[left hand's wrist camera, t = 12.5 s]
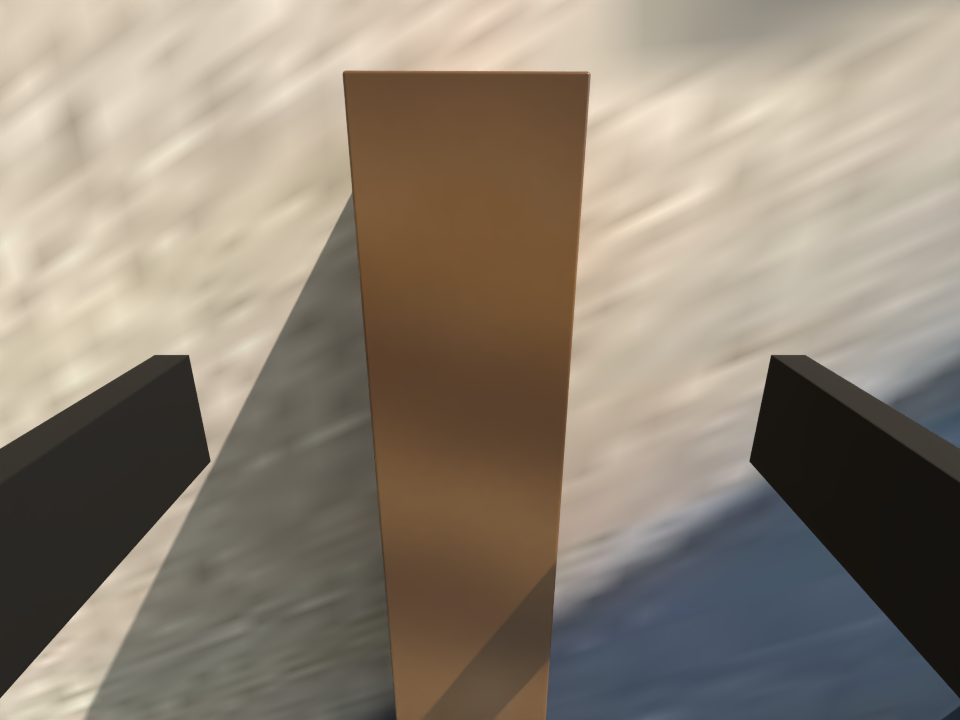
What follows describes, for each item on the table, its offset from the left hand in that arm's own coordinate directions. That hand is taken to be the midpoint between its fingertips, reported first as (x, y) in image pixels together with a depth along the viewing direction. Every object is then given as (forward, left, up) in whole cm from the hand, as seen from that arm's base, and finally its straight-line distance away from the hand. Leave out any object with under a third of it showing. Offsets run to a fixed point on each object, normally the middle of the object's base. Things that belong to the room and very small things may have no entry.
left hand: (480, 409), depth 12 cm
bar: (+10, +29, -10) cm, 32 cm away
